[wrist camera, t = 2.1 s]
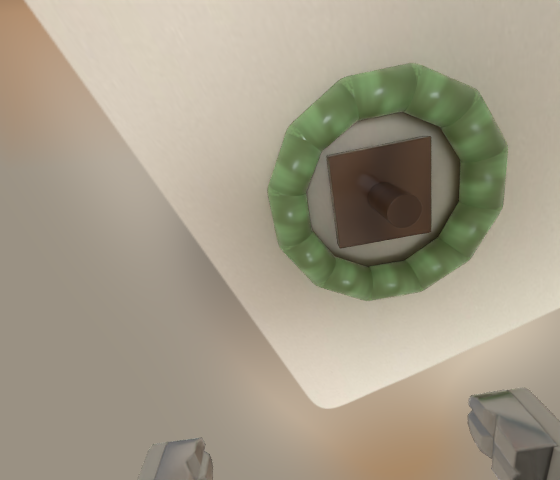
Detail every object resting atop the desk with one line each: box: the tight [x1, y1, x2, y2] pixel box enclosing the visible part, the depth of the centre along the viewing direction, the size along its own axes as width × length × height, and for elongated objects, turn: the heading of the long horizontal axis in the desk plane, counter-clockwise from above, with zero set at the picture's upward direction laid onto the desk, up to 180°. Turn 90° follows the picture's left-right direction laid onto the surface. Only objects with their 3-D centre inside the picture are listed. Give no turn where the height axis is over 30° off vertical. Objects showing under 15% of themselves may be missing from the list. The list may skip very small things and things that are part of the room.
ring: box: [268, 63, 508, 301], centre depth 24 cm, size 18×18×3 cm
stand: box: [326, 136, 431, 248], centre depth 23 cm, size 8×8×6 cm
